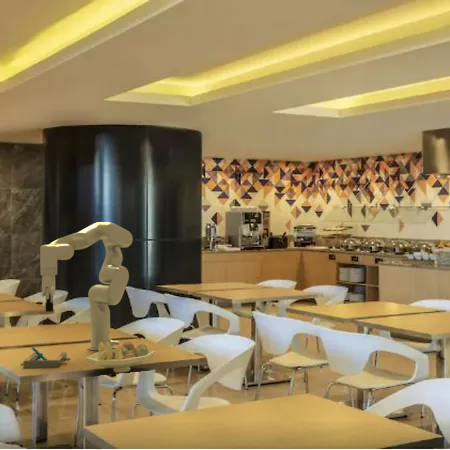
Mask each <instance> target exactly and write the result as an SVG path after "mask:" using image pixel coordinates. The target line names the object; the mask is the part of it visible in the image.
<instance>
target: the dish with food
mask: <svg viewBox="0 0 450 450" xmlns="http://www.w3.org/2000/svg"><path fill="white" fill-rule="evenodd" d="M116 346H117V347H116V348H113V349H112V346H111V344H110V343H109V342H107V343H106V345H105V346H104V344H103V342H100V343H99V350H98V351H96V352H95V353H92V354H90V355H88V356H87V357H86V359H87V361H88V362H89V363H92V364H94V365H96V366H97V365H98V366H99V367H103V368H111V369H112V368H113V373H126V372H129V371H131V367H133V366H137V365H139V364H142V363H143V362H145V361H147V360H148V359H150V358H152V357H153V356H154V354H155V353H156V351H155V350H154V349H149V348H148V346H147V345H146V344H144V343H143V344H142V343H140V344H139V345H138V346H137V345H136V347H135V345H134V343H132V342H131V341H126V342H124V343H122V344H121V346H120V345H116Z"/></svg>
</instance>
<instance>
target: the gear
mask: <svg viewBox="0 0 450 450" xmlns="http://www.w3.org/2000/svg"><path fill="white" fill-rule="evenodd" d="M31 350H32V351H33V353H36V354H37V355H38V356H37V357H36V359H35V360H41V359H42V360H48V359H47V357H45V356H44V354H43V352H42V353H41V352H40V351H38V350H37V349H36V348H35V347H34V346H33V347H31Z"/></svg>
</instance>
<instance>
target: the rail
mask: <svg viewBox="0 0 450 450" xmlns="http://www.w3.org/2000/svg"><path fill="white" fill-rule="evenodd" d="M37 356H38V355H37V354H36V353H35V352H33V353H31V355H29V356H28V357H25V359H24V360H23V362H20V366H23V369H36V368H37V369H38V368H39V369H42V368H45V369H46V368H60V366H61V365H68V362H67V361H70V360H71V357H67V351H63V352H61V353H60V354H59V355H57V357H56V358H55V359H47V360H43V359H42V360H41V359H38V360H35V359H36V357H37ZM65 361H66V362H65Z"/></svg>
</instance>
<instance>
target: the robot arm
mask: <svg viewBox="0 0 450 450" xmlns="http://www.w3.org/2000/svg"><path fill="white" fill-rule="evenodd" d="M100 240H102V244H103V245H104V248H105V252H106V254H105V258H104V261H103V263H102V265H101V268H100V271H99V274H98V280H99V282H100V283H102V284H94V285H92V286H91V287H90V288H89V290H88V300H89V301H88V302H89V307H90V308H89V309H90V345H88V346H87V350H88V351H89V350H90V351H99V343H100V342H103V344H104V346H105V345H106V343H107V342H109V343H110V344H111V346H112V349H114V346H120V341H119V340H113V339H112V338H111V311H110V308H109V306H115V305H118V304H119V303H120V302H121V300H122V298H123V295H124V293H125V290H126V288H127V284H128V282H129V278H130V276H129V271H128V268H127V267H125V266H123V265H122V262H123V260H124V259H123V257H124V256H123V254H122V251H121V248H129V246H131V245H132V243H133V240H134V239H133V235H132V233H131V232H130V231H129V230H127V229H125V228H123V227H121V226H120V225H118V224H116V223H113V222H109V221H99V222H97V221H96V222H95V223H92V224H90V225H89V226H87V227H85V228H83V229H81V230H79V231H78V232H75V233H74V232H73V233H72V234H68V235H65V236H63V237H60V238H57V239H56V240H53V241H52V242H50V243H49V244H43V245H41V246H40V247H39V249H40V250H39V251H40V254H39V255H40V257H39V259H40V260H39V261H40V264H39V265H40V276H41V297H43V298H44V297H45V312H47V313H48V312H54V295H56V276H57V275H58V260H61V261H67V260H70V259H71V258H72V257H73V256H74V254H75V250H76V251H77V250H83V249H87V248H88V247H90V246H92V245H94V244H96V243H97V242H99V241H100Z"/></svg>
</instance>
